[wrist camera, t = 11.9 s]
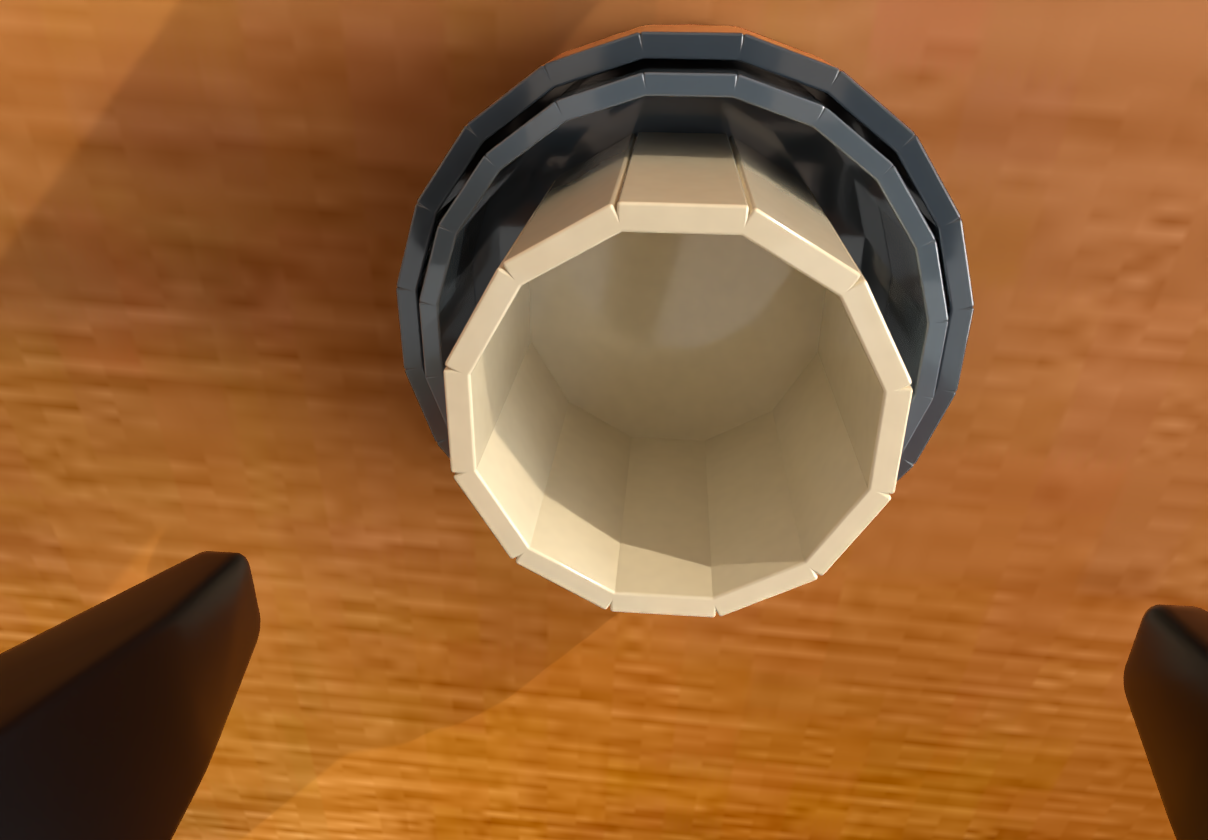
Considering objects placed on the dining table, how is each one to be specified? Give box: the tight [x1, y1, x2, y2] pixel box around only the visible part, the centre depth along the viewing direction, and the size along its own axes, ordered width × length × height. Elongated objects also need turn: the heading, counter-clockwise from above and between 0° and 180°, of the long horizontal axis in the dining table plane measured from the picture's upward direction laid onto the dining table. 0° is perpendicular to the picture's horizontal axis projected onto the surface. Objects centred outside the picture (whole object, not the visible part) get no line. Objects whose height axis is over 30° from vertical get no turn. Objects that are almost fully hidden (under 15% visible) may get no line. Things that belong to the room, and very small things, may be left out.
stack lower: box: [396, 24, 974, 481], centre depth 17 cm, size 10×10×3 cm
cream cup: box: [443, 132, 913, 617], centre depth 15 cm, size 7×7×6 cm
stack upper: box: [419, 59, 948, 455], centre depth 17 cm, size 9×9×4 cm
